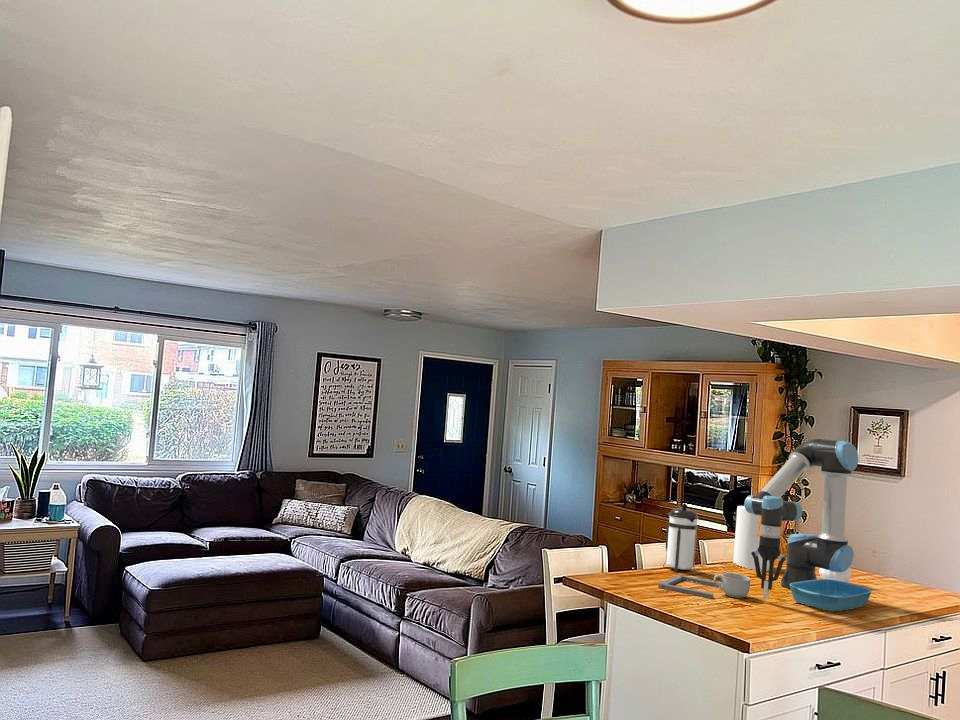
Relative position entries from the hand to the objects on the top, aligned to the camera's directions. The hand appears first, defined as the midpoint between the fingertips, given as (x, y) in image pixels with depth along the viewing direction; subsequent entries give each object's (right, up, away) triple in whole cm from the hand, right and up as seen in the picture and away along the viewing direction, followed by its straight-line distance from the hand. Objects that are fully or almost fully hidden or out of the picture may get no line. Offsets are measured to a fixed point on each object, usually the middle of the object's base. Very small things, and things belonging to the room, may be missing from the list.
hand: (765, 597), depth 302 cm
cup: (+51, -10, +54) cm, 75 cm away
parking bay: (-23, -1, +14) cm, 27 cm away
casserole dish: (+28, -5, +8) cm, 30 cm away
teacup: (-11, -2, +7) cm, 13 cm away
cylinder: (+21, -8, +75) cm, 78 cm away
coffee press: (-21, -3, +51) cm, 55 cm away
